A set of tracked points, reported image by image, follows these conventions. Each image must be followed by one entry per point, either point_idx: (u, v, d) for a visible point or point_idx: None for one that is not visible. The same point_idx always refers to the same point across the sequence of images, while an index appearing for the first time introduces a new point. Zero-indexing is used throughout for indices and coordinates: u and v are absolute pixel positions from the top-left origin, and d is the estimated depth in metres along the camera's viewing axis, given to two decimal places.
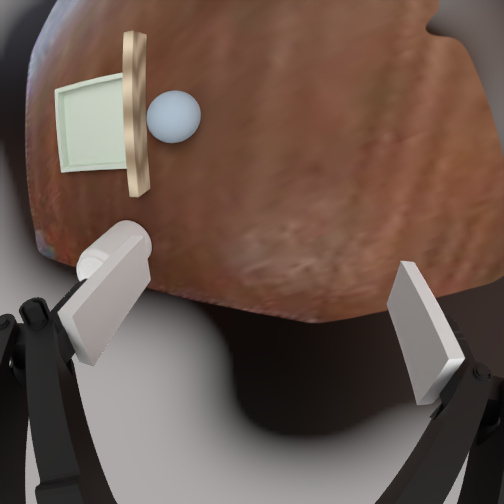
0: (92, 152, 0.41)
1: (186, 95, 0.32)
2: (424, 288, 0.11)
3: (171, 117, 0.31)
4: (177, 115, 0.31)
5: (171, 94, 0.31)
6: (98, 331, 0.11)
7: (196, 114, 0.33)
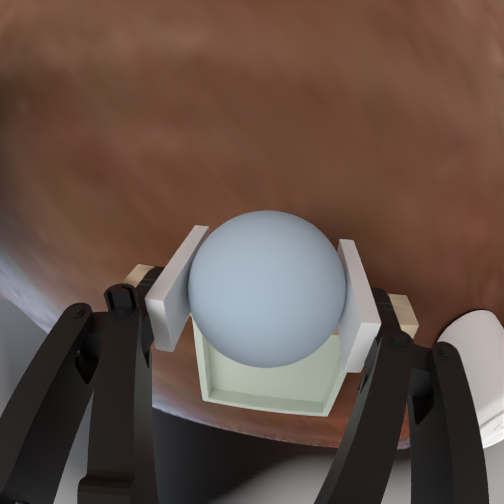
0: (316, 371, 0.28)
1: (201, 251, 0.12)
2: (355, 262, 0.13)
3: (256, 319, 0.10)
4: (254, 299, 0.10)
5: (191, 297, 0.12)
6: (178, 317, 0.12)
7: (263, 229, 0.11)
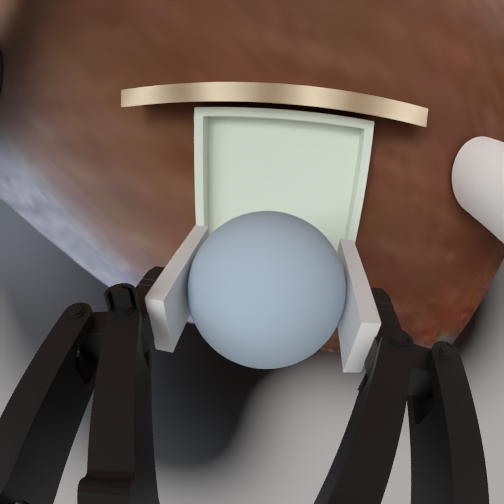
0: (329, 204, 0.26)
1: (201, 252, 0.12)
2: (355, 262, 0.13)
3: (256, 320, 0.10)
4: (254, 300, 0.10)
5: (190, 298, 0.12)
6: (178, 317, 0.12)
7: (263, 229, 0.11)
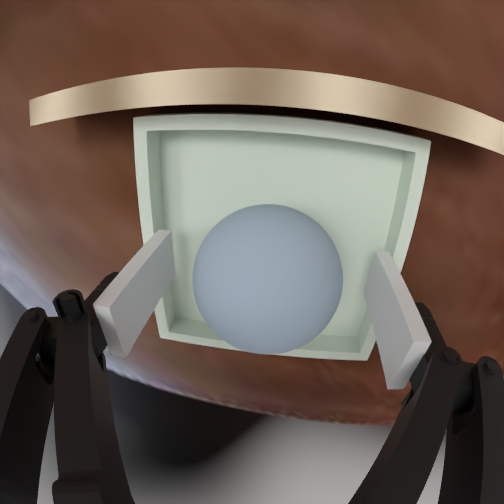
0: (350, 266, 0.17)
1: (205, 242, 0.13)
2: (396, 275, 0.12)
3: (258, 304, 0.11)
4: (256, 286, 0.11)
5: (196, 286, 0.12)
6: (131, 323, 0.11)
7: (264, 220, 0.12)
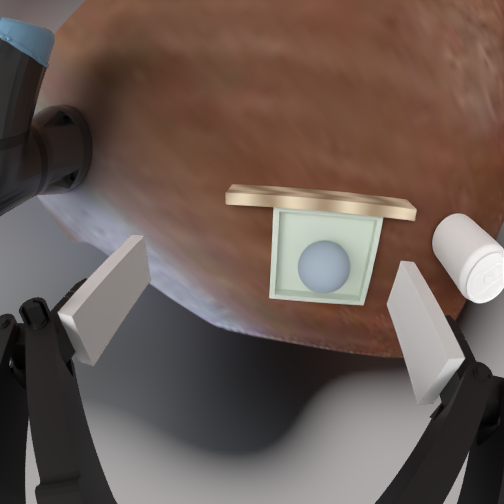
0: (353, 262, 0.42)
1: (305, 254, 0.38)
2: (424, 288, 0.11)
3: (325, 273, 0.36)
4: (324, 267, 0.35)
5: (302, 269, 0.37)
6: (98, 331, 0.11)
7: (325, 247, 0.37)
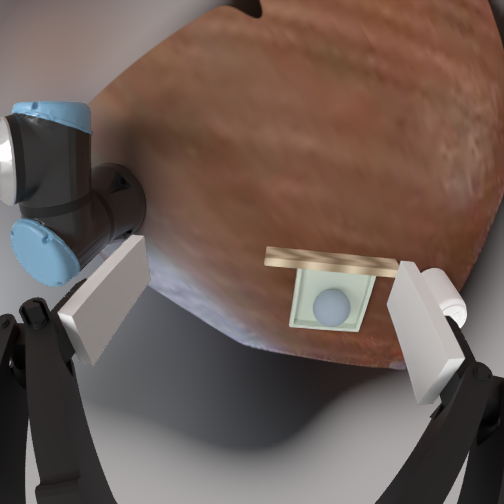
0: (352, 302, 0.56)
1: (319, 300, 0.52)
2: (424, 288, 0.11)
3: (333, 315, 0.50)
4: (333, 311, 0.50)
5: (317, 310, 0.52)
6: (98, 331, 0.11)
7: (334, 296, 0.51)
